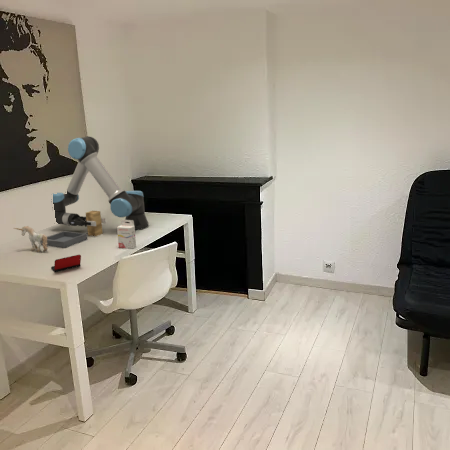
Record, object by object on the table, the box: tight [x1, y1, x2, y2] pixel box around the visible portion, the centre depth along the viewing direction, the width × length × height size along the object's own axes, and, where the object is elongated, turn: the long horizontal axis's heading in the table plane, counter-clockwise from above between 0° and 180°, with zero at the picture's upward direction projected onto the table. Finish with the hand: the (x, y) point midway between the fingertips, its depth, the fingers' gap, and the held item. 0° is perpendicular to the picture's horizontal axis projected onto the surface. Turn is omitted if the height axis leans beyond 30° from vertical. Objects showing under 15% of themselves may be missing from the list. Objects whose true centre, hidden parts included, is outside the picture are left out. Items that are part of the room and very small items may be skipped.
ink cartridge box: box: [116, 219, 137, 250], centre depth 264 cm, size 9×5×15 cm, turn 71°
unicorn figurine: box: [13, 225, 49, 253], centre depth 266 cm, size 7×20×13 cm, turn 75°
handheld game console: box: [50, 254, 82, 273], centre depth 235 cm, size 12×11×7 cm
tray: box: [41, 230, 88, 249], centre depth 280 cm, size 18×18×4 cm
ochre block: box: [85, 210, 103, 237], centre depth 292 cm, size 6×6×14 cm
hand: (100, 222), depth 290 cm, fingers open, 7 cm apart
